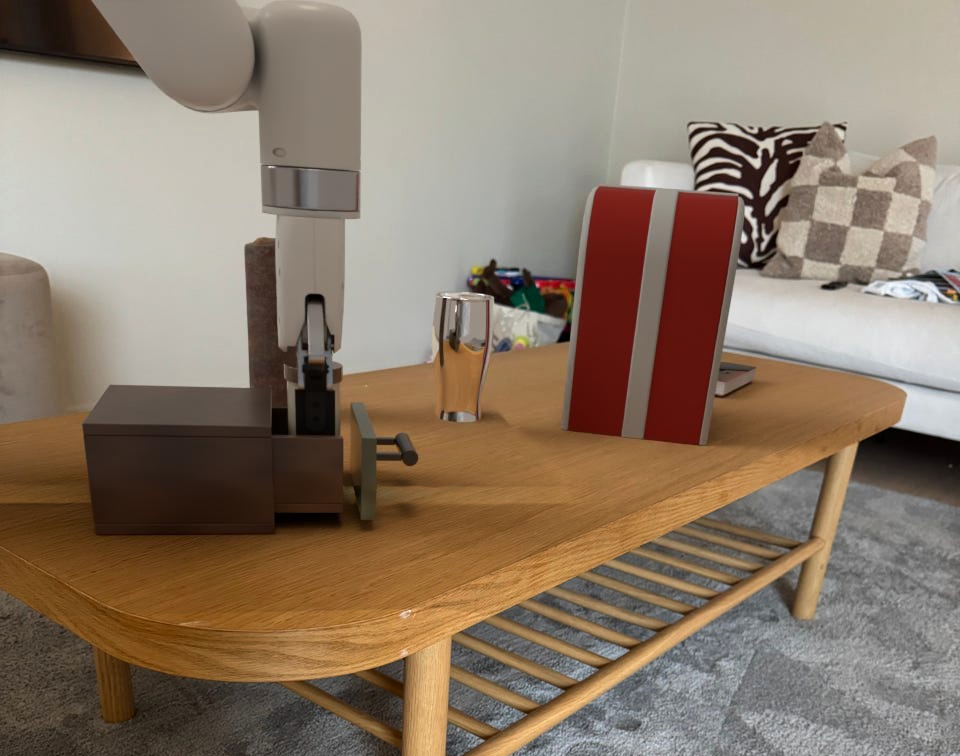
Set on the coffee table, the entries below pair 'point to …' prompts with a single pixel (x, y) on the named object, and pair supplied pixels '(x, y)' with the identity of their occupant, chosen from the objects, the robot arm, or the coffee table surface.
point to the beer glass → (461, 353)
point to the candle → (264, 321)
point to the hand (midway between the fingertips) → (314, 428)
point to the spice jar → (292, 384)
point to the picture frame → (733, 377)
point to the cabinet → (181, 460)
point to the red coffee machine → (651, 311)
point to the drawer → (330, 465)
